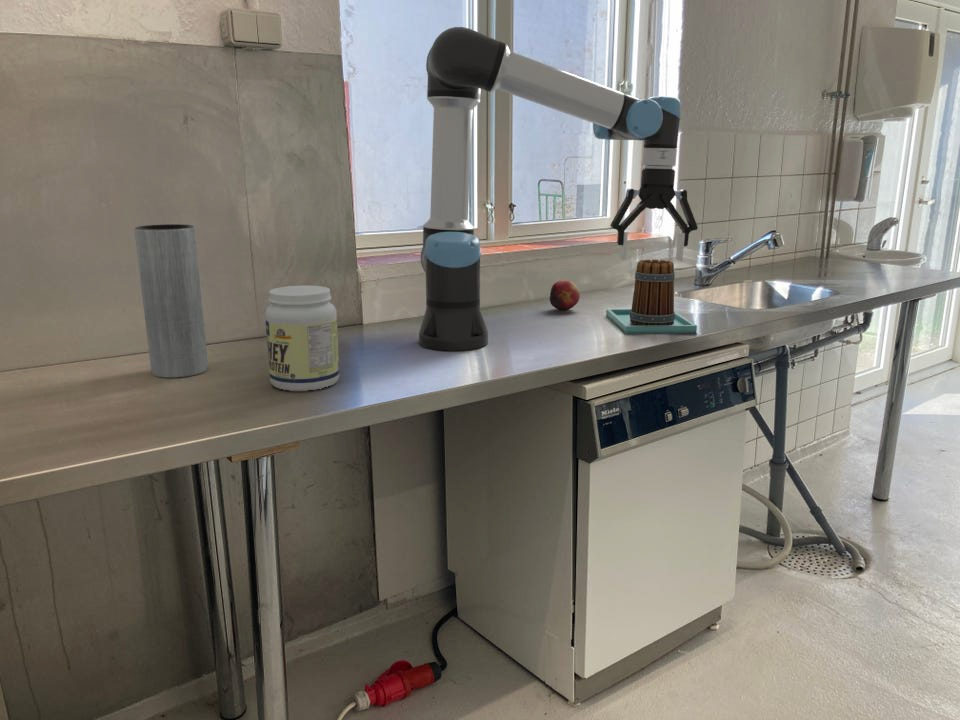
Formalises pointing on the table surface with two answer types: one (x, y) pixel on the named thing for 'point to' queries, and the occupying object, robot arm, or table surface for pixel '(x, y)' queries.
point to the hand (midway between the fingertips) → (651, 259)
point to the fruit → (564, 295)
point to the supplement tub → (302, 338)
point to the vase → (172, 299)
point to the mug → (653, 293)
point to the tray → (623, 322)
